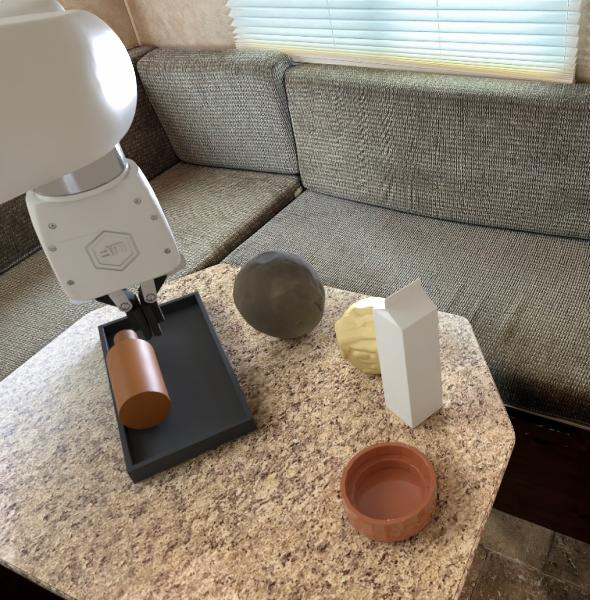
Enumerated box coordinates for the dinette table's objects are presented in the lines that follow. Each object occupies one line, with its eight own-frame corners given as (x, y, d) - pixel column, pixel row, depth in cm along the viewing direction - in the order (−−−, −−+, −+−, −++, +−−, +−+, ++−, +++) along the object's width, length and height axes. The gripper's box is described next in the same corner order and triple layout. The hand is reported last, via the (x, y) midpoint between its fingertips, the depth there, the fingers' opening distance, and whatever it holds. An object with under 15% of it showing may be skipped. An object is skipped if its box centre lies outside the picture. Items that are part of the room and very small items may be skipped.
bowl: (369, 562, 71) (365, 542, 68) (331, 487, 79) (325, 466, 76) (454, 515, 74) (453, 494, 71) (409, 449, 83) (406, 428, 80)
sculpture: (340, 387, 92) (328, 335, 85) (344, 334, 102) (334, 283, 95) (414, 382, 92) (409, 330, 85) (412, 329, 101) (407, 278, 94)
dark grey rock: (309, 294, 111) (293, 224, 101) (345, 336, 101) (331, 263, 92) (236, 325, 106) (212, 255, 96) (267, 373, 96) (243, 300, 87)
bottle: (107, 412, 83) (92, 337, 96) (139, 436, 88) (120, 362, 101) (152, 383, 84) (131, 313, 97) (180, 409, 89) (157, 339, 102)
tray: (134, 484, 82) (126, 472, 80) (103, 336, 106) (97, 325, 105) (258, 429, 87) (254, 417, 86) (202, 301, 112) (197, 290, 110)
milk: (443, 406, 88) (438, 288, 74) (412, 430, 85) (401, 311, 71) (415, 384, 92) (405, 267, 78) (384, 406, 89) (368, 289, 75)
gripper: (-27, 211, 44) (77, 382, 56) (176, 155, 49) (234, 323, 61) (-24, 172, 50) (71, 336, 61) (159, 124, 54) (215, 285, 66)
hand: (152, 329), depth 61 cm, fingers closed
